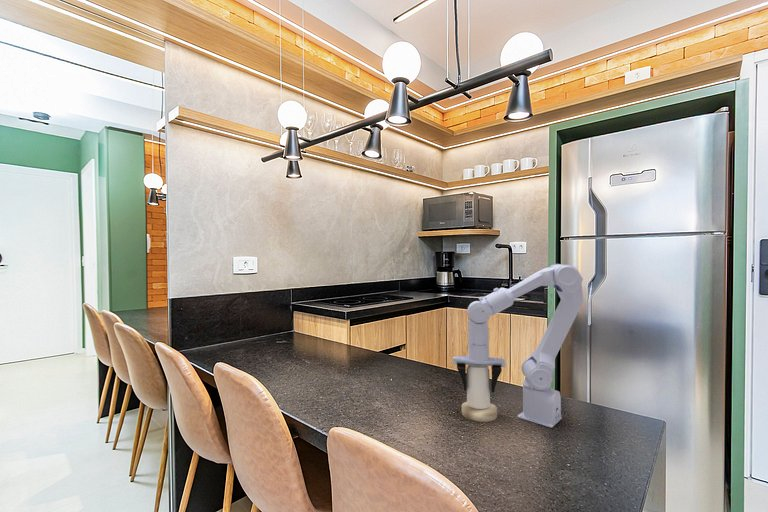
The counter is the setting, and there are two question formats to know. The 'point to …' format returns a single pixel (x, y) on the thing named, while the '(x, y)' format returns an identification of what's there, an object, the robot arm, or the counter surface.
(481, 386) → the can
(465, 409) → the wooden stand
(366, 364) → the counter surface
